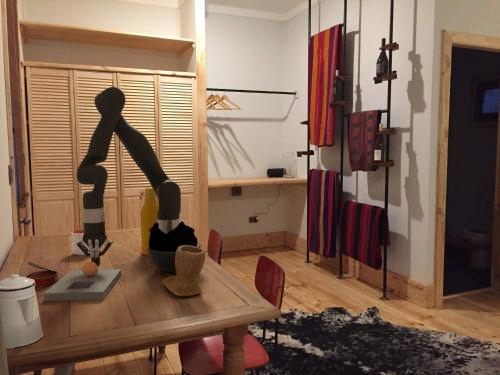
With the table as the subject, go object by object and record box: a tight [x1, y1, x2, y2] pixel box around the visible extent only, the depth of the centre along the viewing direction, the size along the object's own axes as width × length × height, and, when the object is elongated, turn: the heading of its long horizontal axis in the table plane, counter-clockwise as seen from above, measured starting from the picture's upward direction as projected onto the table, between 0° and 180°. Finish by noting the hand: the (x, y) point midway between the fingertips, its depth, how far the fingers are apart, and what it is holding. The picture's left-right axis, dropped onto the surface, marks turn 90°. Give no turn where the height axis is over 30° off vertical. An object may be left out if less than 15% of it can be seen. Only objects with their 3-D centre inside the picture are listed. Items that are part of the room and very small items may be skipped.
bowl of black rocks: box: [147, 220, 201, 273], centre depth 160 cm, size 20×20×19 cm
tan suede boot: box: [162, 245, 206, 297], centre depth 139 cm, size 15×12×15 cm
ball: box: [81, 260, 99, 276], centre depth 148 cm, size 5×5×5 cm
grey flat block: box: [43, 268, 122, 302], centre depth 143 cm, size 18×24×2 cm
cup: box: [71, 228, 89, 256], centre depth 188 cm, size 10×10×10 cm
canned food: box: [26, 261, 59, 288], centre depth 149 cm, size 11×10×10 cm
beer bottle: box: [139, 187, 159, 256], centre depth 187 cm, size 9×9×29 cm
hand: (95, 266), depth 155 cm, fingers closed
